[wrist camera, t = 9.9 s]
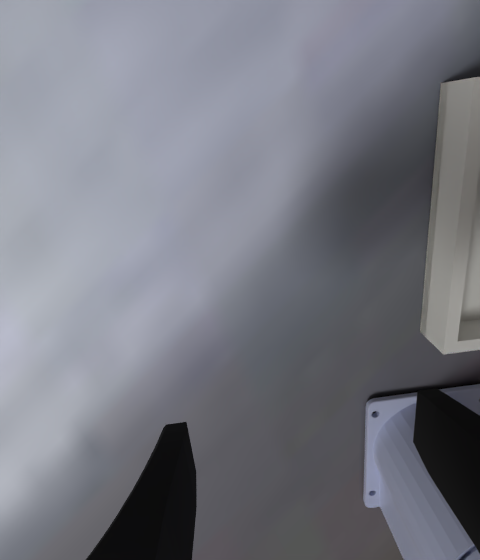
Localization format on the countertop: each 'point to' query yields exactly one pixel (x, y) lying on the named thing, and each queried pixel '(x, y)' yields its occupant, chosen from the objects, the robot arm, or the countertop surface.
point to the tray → (454, 224)
